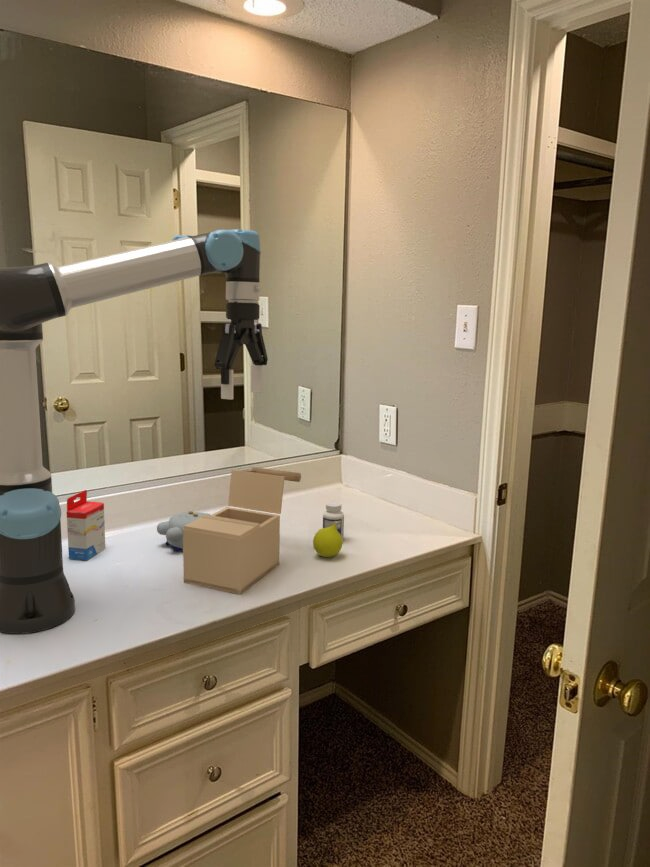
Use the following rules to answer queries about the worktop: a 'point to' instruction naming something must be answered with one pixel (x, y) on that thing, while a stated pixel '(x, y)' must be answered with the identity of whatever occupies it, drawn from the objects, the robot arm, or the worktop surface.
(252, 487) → the tan handled panel part
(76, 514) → the ink box
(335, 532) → the ornament
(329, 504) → the pill bottle
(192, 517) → the figurine
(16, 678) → the worktop surface
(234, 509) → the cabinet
